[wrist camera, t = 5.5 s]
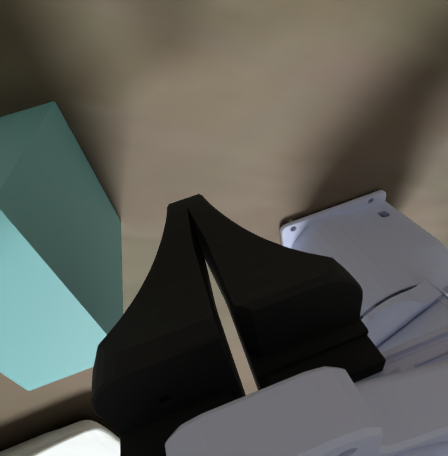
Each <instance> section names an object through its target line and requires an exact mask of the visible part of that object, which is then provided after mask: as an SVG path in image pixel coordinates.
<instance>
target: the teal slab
mask: <svg viewBox="0 0 448 456" xmlns="http://www.w3.org/2000/svg"><path fill="white" fill-rule="evenodd" d="M122 316H123V290H122V249H121V221H120V219H119V217H118V215H117V214H116V212H115V210H114V208H113V206H112V204H111V203H110V201H109V199H108V197H107V195H106V193H105V192H104V190H103V188H102V186H101V184H100V183H99V181H98V179H97V177H96V175H95V173H94V172H93V170H92V168H91V166H90V164H89V162H88V161H87V159H86V157H85V155H84V153H83V151H82V150H81V148H80V146H79V144H78V142H77V141H76V139H75V137H74V135H73V133H72V131H71V130H70V128H69V126H68V124H67V122H66V120H65V119H64V117H63V115H62V113H61V111H60V110H59V108H58V106H57V104H56V102H55V101H53V102H49V103H46V104H43V105H39V106H36V107H32V108H29V109H26V110H22V111H19V112H15V113H12V114H9V115H5V116H2V117H0V372H1V373H2V374H4V375H5V376H7V377H8V378H10V379H11V380H13V381H14V382H16V383H17V384H19V385H20V386H22V387H23V388H25V389H26V390H28V391H30V390H33V389H36V388H38V387H41V386H43V385H46V384H49V383H51V382H54V381H57V380H59V379H62V378H65V377H67V376H70V375H72V374H75V373H78V372H80V371H83V370H86V369H88V368H91V367H93V366H94V362H95V357H96V352H97V346H98V345H99V343H100V342H101V341H102V340H103V339H104V338H105V337H106V335H107V334H108V333H109V332H110V331H111V329H112V328H113V327H114V326H115V325H116V323H117V322H118V321H119V320H120V318H121V317H122Z"/></svg>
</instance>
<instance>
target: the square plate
mask: <svg viewBox="0 0 448 456" xmlns="http://www.w3.org/2000/svg"><path fill="white" fill-rule="evenodd" d="M0 456H120V438H119V437H117V436H116V435H115V434H114V433H113V432H111V431H110V430H109V429H107V428H106V427H104V426H102V425H101V424H99V423H97V422H95V421H92V420H83V421H79V422H76V423H74V424H71V425H68V426H66V427H63V428H61V429H57V430H54V431H51V432H48V433H45V434H42V435H40V436H37V437H35V438H33V439H30V440H28V441H25V442H23V443H21V444H18V445H16V446H13V447H11V448H8V449H6V450H3V451H1V452H0Z"/></svg>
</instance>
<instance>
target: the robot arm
mask: <svg viewBox="0 0 448 456" xmlns="http://www.w3.org/2000/svg"><path fill="white" fill-rule="evenodd" d="M369 199H370V200H369ZM385 200H386V192H385V191H383V190H379V191H376V192H373V193H370V194H368V195H365V196H362V197H359V198H356V199H354V200H351V201H348V202H345V203H342V204H340V205H337V206H334V207H331V208H328V209H326V210H323V211H320V212H317V213H314V214H312V215H309V216H306V217H303V218H300V219H298V220H295V221H292V222H289V223H287V224H284V225H283V226H282V227H281V228H280V234H281V243H282V245H279V244H277V243H274V242H271V241H268V240H266V239H264V238H261V237H259V236H257V235H255V234H253V233H251V232H249V231H248V230H246V229H244V228H242V227H241V226H239V225H237V224H236V223H234V222H233V221H231V220H230V219H228V218H227V217H226V216H224V215H223V214H222V213H220V212H219V211H218V210H217V209H215V208H214V207H213V206H212V205H211V204H210V203H209V202H208V201H207V200H206V199H205V198H204V197H203V196H202V195H200V194H198V195H195V196H192V197H189V198H186V199H183V200H180V201H177V202H174V203H171V204H169V205H168V207H167V217H166V223H165V228H164V232H163V236H162V240H161V243H160V246H159V249H158V252H157V255H156V257H155V260H154V262H153V265H152V267H151V269H150V271H149V273H148V276H147V277H146V279H145V281H144V283H143V285H142V287H141V289H140V290H139V292H138V294H137V295H136V297H135V298H134V300H133V301H132V303H131V304H130V306H129V307H128V309H127V310H126V312H125V313H124V314H123V316H122V317H121V318H120V320H119V321H118V322H117V323H116V325H115V326H114V327H113V328H112V329H111V331H110V332H109V333H108V334H107V335H106V337H105V338H104V339H103V340H102V341H101V342H100V343H99V345H98V346H97V352H96V357H95V362H94V368H93V377H92V393H91V405H92V410H93V411H94V412H95V414H96V415H97V416H98V417H100V418H101V419H102V420H104V421H105V422H106V423H107V424H109V425H110V426H111V427H113V428H114V429H115V430H117V431H118V432H119V433H120V456H448V249H447V248H446V247H445V246H444V245H443V244H442V243H441V242H440V241H439V240H438V239H436V238H435V237H434V236H432V235H431V234H430V233H428V232H427V231H425V230H424V229H423V228H421V227H420V226H419V225H417V224H416V223H415V222H413V221H412V220H411V219H409V218H408V217H406V216H405V215H404V214H402V213H401V212H400V211H398V210H397V209H396V208H394V207H393V206H391V205H390V204H389V203H387V202H386V201H385ZM293 226H294V227H293ZM292 227H293V228H292ZM291 228H292V229H291ZM205 260H206V262H207V264H208V266H209V268H210V270H211V272H212V274H213V276H214V278H215V280H216V283H217V285H218V287H219V289H220V291H221V293H222V295H223V297H224V299H225V301H226V304H227V306H228V308H229V311H230V314H231V317H232V319H233V322H234V325H235V328H236V330H237V333H238V336H239V339H240V341H241V344H242V347H243V350H244V352H245V355H246V358H247V361H248V363H249V366H250V369H251V372H252V375H253V377H254V380H255V383H256V386H257V388H258V391H256V392H254V393H251V394H249V395H245V392H244V389H243V386H242V383H241V380H240V377H239V374H238V371H237V368H236V366H235V363H234V360H233V357H232V354H231V351H230V348H229V345H228V342H227V339H226V336H225V333H224V330H223V327H222V324H221V321H220V318H219V315H218V312H217V308H216V305H215V301H214V297H213V292H212V288H211V283H210V279H209V275H208V270H207V266H206V262H205Z"/></svg>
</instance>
